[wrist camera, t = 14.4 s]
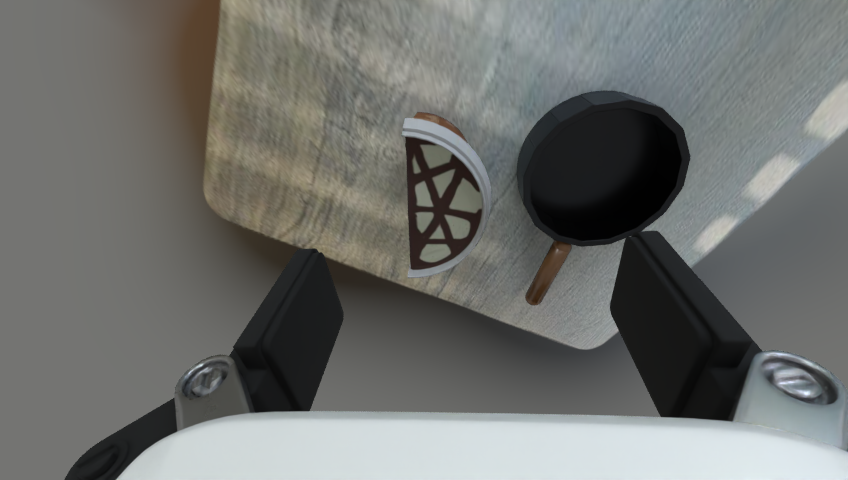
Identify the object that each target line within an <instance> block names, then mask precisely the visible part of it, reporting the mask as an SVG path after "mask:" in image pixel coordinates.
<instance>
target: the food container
mask: <svg viewBox="0 0 848 480" xmlns="http://www.w3.org/2000/svg"><path fill="white" fill-rule="evenodd" d="M402 136H405V138H406V144H405V147H406V155H407V185H408V219H409V241H410V266H409V272H408V278H421V277H428V276H432V275H436V274H439V273H442V272H444V271H446V270H448V269H450V268H452V267H454V266H455V265H457V264H458V263H460V262H461V261H462V260H463V259H464V258H466V257H467V256H468V254H469V253H470V252H471V251H472V250H473V249H474V248H475V246H476V245H477V244H478V242H479V240H480V239H481V237H482V235H483V233H484V230H485V228H486V225H487V222H488V219H489V215H490V210H491V205H492V191H491V185H490V180H489V177H488V174H487V171H486V169H485V167H484V165H483V163H482V161H481V160H480V158H479V156H478V155H477V154H476V152H475V151H474V150H473V149H472V147H471V146H470V145H469V144H468V143H467V141H466V139H465V137H464V136H463V134H462V133H461V132H460V131H459V129H458V128H456V127H455V126H454V125H453V124H452V123H450V122H449V121H447V120H446V119H444V118H442V117H439V116H437V115H434V114H430V113H422V112H417V114H416V115H415V116H414V118H405V121H404V125H403V132H402Z"/></svg>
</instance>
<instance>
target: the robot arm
mask: <svg viewBox="0 0 848 480" xmlns="http://www.w3.org/2000/svg"><path fill="white" fill-rule="evenodd" d="M610 311H611V315H612V317H613V319H614V321H615V323H616V325H617V327H618V330H619V332H620V334H621V336H622V338H623V340H624V342H625V344H626V346H627V348H628V350H629V352H630V354H631V356H632V359H633V360H634V363H635V365H636V367H637V369H638V371H639V373H640V375H641V377H642V379H643V381H644V383H645V386H646V388H647V390H648V392H649V394H650V396H651V398H652V400H653V402H654V404H655V406H656V408H657V410H658V412H659V414H660V416H661V417H642V416H608V415H607V416H606V415H557V414H556V415H555V414H506V413H505V414H503V413H441V412H439V413H438V412H354V411H353V412H352V411H349V412H348V411H310V409H311V406H312V403H313V400H314V398H315V395H316V392H317V389H318V387H319V384H320V382H321V379H322V376H323V374H324V371H325V368H326V365H327V363H328V360H329V357H330V354H331V352H332V349H333V346H334V343H335V341H336V338H337V336H338V333H339V330H340V327H341V325H342V322H343V310H342V307H341V304H340V301H339V298H338V296H337V292H336V289H335V286H334V284H333V280H332V278H331V275H330V272H329V269H328V266H327V263H326V260H325V257H324V255H323V253H319V252H318V250H317V249H315V248H314V249H299V250H297V251H296V252H295V254H294V255H293V257H292V258H291V260H290V261H289V263H288V264H287V266H286V267H285V269H284V270H283V272H282V273H281V275H280V276H279V278H278V279H277V281H276V283H275V284H274V286H273V287H272V289H271V290H270V292H269V293H268V295H267V296H266V298H265V299H264V301H263V302H262V304H261V305H260V307H259V308H258V310H257V311H256V313H255V315H254V316H253V317H252V319H251V321H250V322H249V324H248V325H247V327H246V328H245V330H244V331H243V333H242V334H241V336H240V337H239V339H238V340H237V342H236V343H235V345H234V346H233V348H234V349H233V351H232V352H231V354H230V355H229V356H227V355H215V356H211V357H208V358H206V359H203V360H201V361H200V362H198V363H196V364H195V365H193V366H192V367H191V368H190V369H189V370H187V371H186V372H185V373H184V375H183V376H182V377H181V378H180V379H179V381H178V383H177V385H176V387H175V393H174V398H173V399H172V400H170V401H168V402H167V403H165V404H163V405H161V406H160V407H158V408H156V409H155V410H153V411H151V412H149V413H148V414H146V415H144V416H143V417H141V418H139V419H138V420H136V421H134V422H132V423H131V424H129V425H127V426H126V427H124V428H123V429H121V430H119V431H117V432H116V433H114V434H112V435H110V436H109V437H107V438H105V439H104V440H102V441H100V442H99V443H97V444H96V445H95V446H93V447H92V448H90V449H89V450H88V451H87V452H86V453H85V454H84V455H82V457H80V458H79V459H78V461H77V462H76V463H75V464H74V465H73V467H72V468H71V469H70V471H69V473H68V474H67V476H66V478H65V480H848V390H847V389H846V387H845V386H844V385H843V383H842V382H841V381H840V380H839V379H838V378H837V377H836V376H835V375H833V374H832V373H831V372H830V371H829V370H827V369H825V368H824V367H822V366H820V365H819V364H818V363H816V362H814V361H812V360H809V359H807V358H805V357H803V356H800V355H797V354H793V353H790V352H784V351H778V350H769V351H762V350H761V349H760V348H759V347H758V345H757V344H756V343H755V342H754V341H753V340H752V339H751V337H750V336H749V335H748V334H747V333H746V332H745V331H744V329H743V328H742V327H741V326H740V325H739V324H738V322H737V321H736V320H735V319H734V318H733V317H732V315H731V314H730V313H729V312H728V311H727V310H726V309H725V307H724V306H723V305H722V304H721V303H720V302H719V300H718V299H717V298H716V297H715V296H714V294H713V293H712V292H711V291H710V290H709V289H708V288H707V287H706V285H705V284H704V283H703V282H702V281H701V280H700V279H699V278H698V277H697V275H696V274H694V272H693V271H692V270H691V268H690V267H689V266H688V265H687V264H686V263H685V262H684V260H683V259H682V258H681V257H680V256H679V255H678V253H677V252H676V251H675V250H674V249H673V248H672V246H671V245H670V244H669V243H668V242H667V241H666V240H665V238H664V237H663V236H662V235H661V234H660V233H659V232H658V231H641V232H634V233H633V234H632V236H631V237H627V238H626V240H625V243H624V247H623V251H622V256H621V260H620V264H619V269H618V273H617V277H616V281H615V286H614V290H613V294H612V299H611V303H610Z"/></svg>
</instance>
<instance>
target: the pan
mask: <svg viewBox="0 0 848 480" xmlns="http://www.w3.org/2000/svg"><path fill="white" fill-rule="evenodd" d="M689 161H690V153H689V149H688V145H687V141H686V137H685V133H684V130H683V128H682V127H681V126H680V125H679V124H678V123H677V122H676V121H675V120H674V119H673V118H672V117H671V116H670V115H669V114H668V113H667V112H666V111H665V110H664V109H663V108H661V107H659V106H657V105H654V104H652V103H650V102H648V101H646V100H644V99H642V98H639V97H635V96H631V95H629V94H626V93H622V92H617V91H594V92H589V93H585V94H581V95H578V96H575V97H573V98H570V99H568V100H566V101H564V102H562V103H561V104H559V105H557V106H556V107H554V108H553V109H552V110H550V111H549V112H548V113H547V114H545V115H544V116H543V117H542V118H541V119H540V120H539V121H538V122H537V123H536V125H535V126H534V127H533V128H532V130H531V131H530V133H529V134H528V136H527V137H526V139H525V141H524V143H523V146H522V148H521V151H520V154H519V158H518V163H517V179H518V188H519V191H520V194H521V197H522V200H523V203H524V206H525V208H526V209H527V211H528V213H529V215H530V217H531V219H532V221H533V223H534V225H535V226H536V227H538V228H539V229H540V230H542V231H543V232H544V233H546V234H547V235H548V236H550V237H551V238H553V239H554V242H553V243H552V245H551V247H550V249H549V251H548V253H547V255H546V257H545V259H544V261H543V262H542V264H541V266H540V268H539V270H538V272H537V274H536V276H535V278H534V279H533V281H532V283H531V285H530V287H529V289H528V291H527V293H526V296H525V298H526V301H527V302H528V303H529V304H530V305H538V304H540V303H541V302H542V300H543V298H544V296H545V295H546V293H547V291H548V289H549V288H550V286H551V284H552V282H553V280H554V279H555V277H556V275H557V273H558V272H559V270H560V268H561V266H562V265H563V263H564V261H565V259H566V258H567V256H568V254H569V252H570V251H571V248H572V245H576V246H581V247H583V246H595V245H606V244H612V243H614V242H617V241H619V240H622V239H624V238H627V237H630V236H632V234H633V233H634V232H641V231H642V230H643V229H645V228H646V227H647V226H649V225H650V224H651V223H653V222H654V221H655V220H656V219H658V218H659V217H660V216H662V215H663V214H664V213H665V212H666V211H667V209H668V208H669V206H670V205H671V204H672V202H673V201H674V199H675V198H676V197H677V195H678V194H679V192H680V191H681V189H682V188H683V186H684V182H685V178H686V174H687V170H688V165H689ZM571 244H572V245H571Z"/></svg>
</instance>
